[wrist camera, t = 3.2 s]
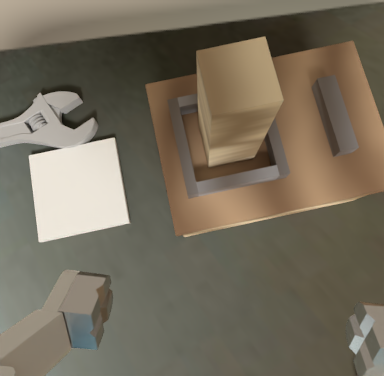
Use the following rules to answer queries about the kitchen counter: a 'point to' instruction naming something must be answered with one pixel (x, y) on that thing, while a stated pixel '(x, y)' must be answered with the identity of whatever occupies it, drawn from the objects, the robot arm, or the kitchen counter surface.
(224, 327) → the kitchen counter surface
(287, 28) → the kitchen counter surface
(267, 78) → the oak block
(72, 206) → the white mat
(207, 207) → the brown rectangular box
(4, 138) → the adjustable wrench
